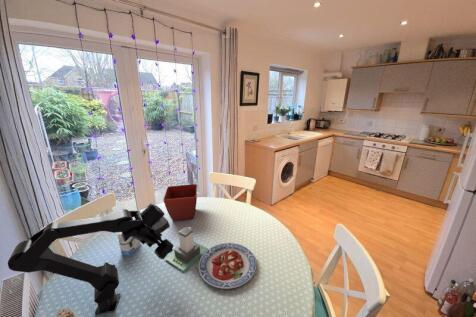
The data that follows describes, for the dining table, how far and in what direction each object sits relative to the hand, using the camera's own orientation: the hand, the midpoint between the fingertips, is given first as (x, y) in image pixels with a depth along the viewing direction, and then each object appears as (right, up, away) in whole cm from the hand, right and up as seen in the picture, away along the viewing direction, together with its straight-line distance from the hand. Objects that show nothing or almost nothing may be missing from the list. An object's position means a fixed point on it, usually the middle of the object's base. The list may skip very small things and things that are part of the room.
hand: (166, 244), depth 89 cm
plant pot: (-4, +1, +44) cm, 44 cm away
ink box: (-22, -9, +14) cm, 28 cm away
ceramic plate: (+26, -12, +4) cm, 29 cm away
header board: (+7, -10, +10) cm, 15 cm away
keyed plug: (+7, -9, +10) cm, 15 cm away
